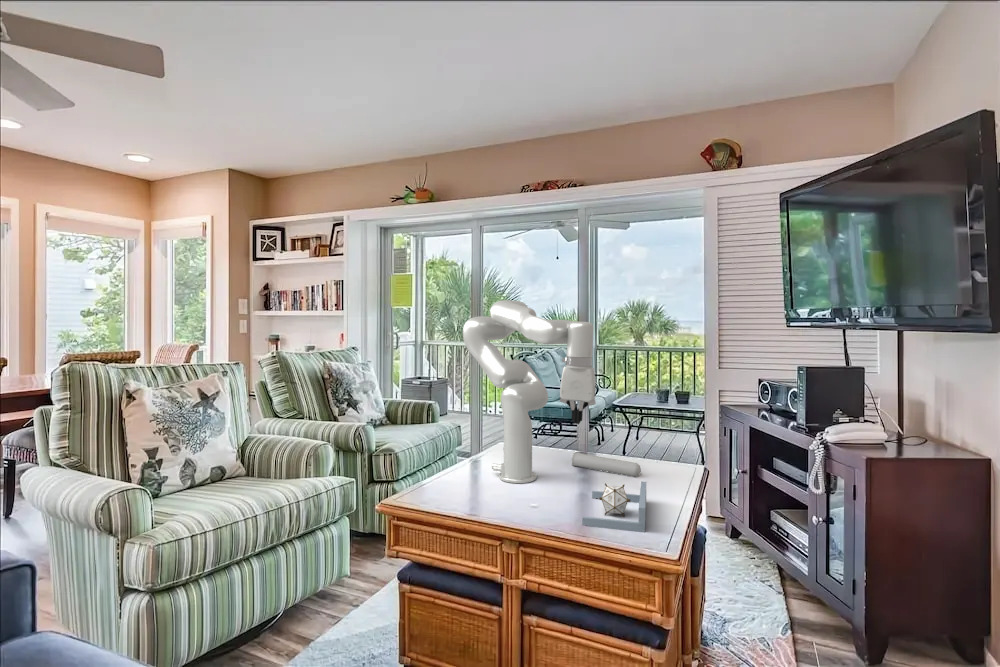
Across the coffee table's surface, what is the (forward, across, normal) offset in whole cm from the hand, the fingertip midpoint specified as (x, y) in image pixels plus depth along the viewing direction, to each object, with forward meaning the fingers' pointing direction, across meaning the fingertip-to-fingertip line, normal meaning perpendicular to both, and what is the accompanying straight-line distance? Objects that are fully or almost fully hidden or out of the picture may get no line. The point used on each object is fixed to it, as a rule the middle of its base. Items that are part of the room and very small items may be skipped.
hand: (576, 422), depth 160 cm
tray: (+21, +14, -12) cm, 28 cm away
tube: (+23, +6, +29) cm, 37 cm away
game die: (+22, +14, -13) cm, 29 cm away
